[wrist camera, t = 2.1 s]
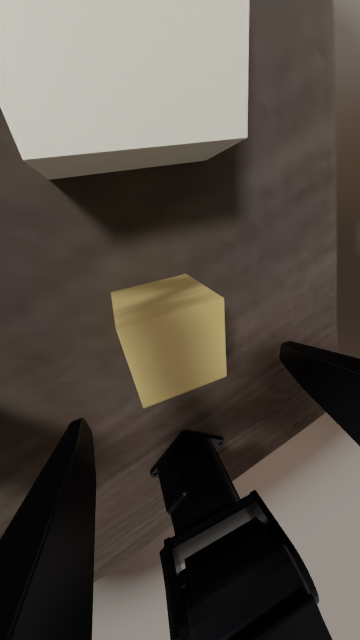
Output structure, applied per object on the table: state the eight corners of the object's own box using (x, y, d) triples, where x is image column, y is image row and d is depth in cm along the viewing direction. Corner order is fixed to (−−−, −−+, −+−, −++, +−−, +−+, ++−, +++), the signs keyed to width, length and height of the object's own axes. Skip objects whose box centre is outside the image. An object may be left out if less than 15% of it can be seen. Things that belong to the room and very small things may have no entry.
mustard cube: (185, 273, 14) (224, 298, 9) (193, 334, 16) (226, 376, 12) (110, 291, 12) (116, 329, 8) (131, 354, 15) (143, 408, 11)
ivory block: (184, -112, 7) (254, -389, 4) (203, 161, 11) (247, 137, 8) (-84, -166, 6) (-364, -750, 2) (50, 180, 10) (23, 160, 6)
